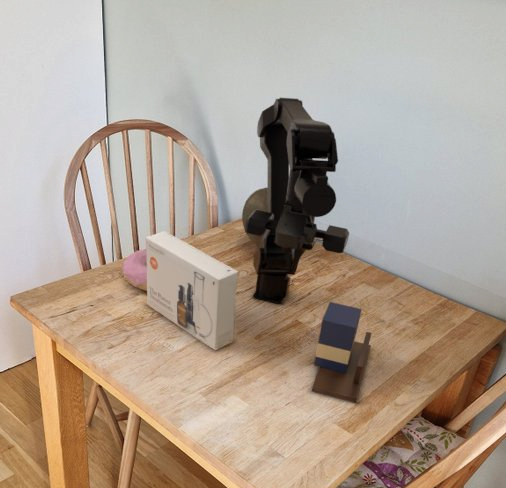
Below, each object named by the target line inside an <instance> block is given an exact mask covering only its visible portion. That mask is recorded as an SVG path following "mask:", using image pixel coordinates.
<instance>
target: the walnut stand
mask: <svg viewBox="0 0 506 488" xmlns="http://www.w3.org/2000/svg"><path fill="white" fill-rule="evenodd" d="M371 336H372V332H369V331H366V332H365V335H364V339H363V342H359V341H356V340H355V341H354V346H353V350H352V354H351V358H350V361H349V364H348V367H347V371H346V373H342V372H338V371H334V370H330V369H327V368H323V367H319V368H318V371H317V373H316V376H315V379H314V382H313V384H312V387H311V392H313V393H317V394H320V395H325V396H327V397H332V398H336V399H339V400H344V401H347V402H351V403H355V404H357V401H358V397H359V394H360V389H361V386H362V383H363V382H362V381H363V378H364V374H365V369H366V365H367V362H368V357H369V354H370V351H371V346H372V345H371V344H370V340H371Z"/></svg>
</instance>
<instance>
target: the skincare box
mask: <svg viewBox="0 0 506 488" xmlns="http://www.w3.org/2000/svg"><path fill="white" fill-rule="evenodd" d="M145 249H146V257H147V291H146V293H147V294H146V303H147V306H148V307H150V308H151V309H153V310H154V311H156V312H157V313H158V314H160V315H162V316H163V317H165V318H166V319H168V320H169V321H171V322H172V323H173V324H174V325H176V326H178V327H179V328H181V329H182V330H184V331H186V332H187V333H188V334H190V335H191V336H193V337H194V338H196V339H197V340H198V341H200V342H201V343H203V344H204V345H206V346H207V347H209V348H210V349H212V350H213V351H218V350H219V349H222V348H224V347H225V346H227V345H229V344H231V343H233V342H234V332H235V331H234V330H235V317H236V304H237V289H238V288H237V287H238V276H239V272H238V271H237V270H236V269H235V268H233V267H230V266H229V265H227V264H225V263H223V262H222V261H220V260H218V259H216V258H214V257H213V256H211V255H209V254H207V253H206V252H203V251H202V250H200V249H198V248H197V247H194V246H193V245H191V244H189V243H187V242H186V241H184V240H183V239H181V238H179V237H176V236H174V235H173V234H171V233H170V232H168V231H166V230H163V231H160V232H158V233H157V232H156V233H154V234H151V235H149V236H146V237H145Z"/></svg>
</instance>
